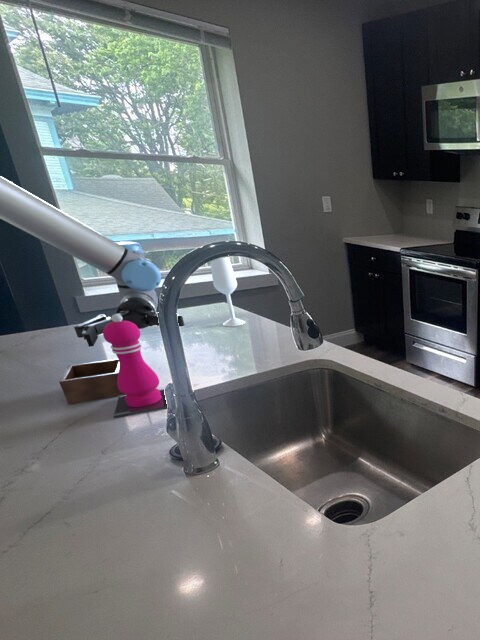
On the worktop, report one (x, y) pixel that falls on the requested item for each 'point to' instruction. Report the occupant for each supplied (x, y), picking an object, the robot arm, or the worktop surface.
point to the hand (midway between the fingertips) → (128, 336)
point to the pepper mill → (131, 363)
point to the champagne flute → (225, 285)
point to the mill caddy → (91, 381)
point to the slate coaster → (126, 410)
